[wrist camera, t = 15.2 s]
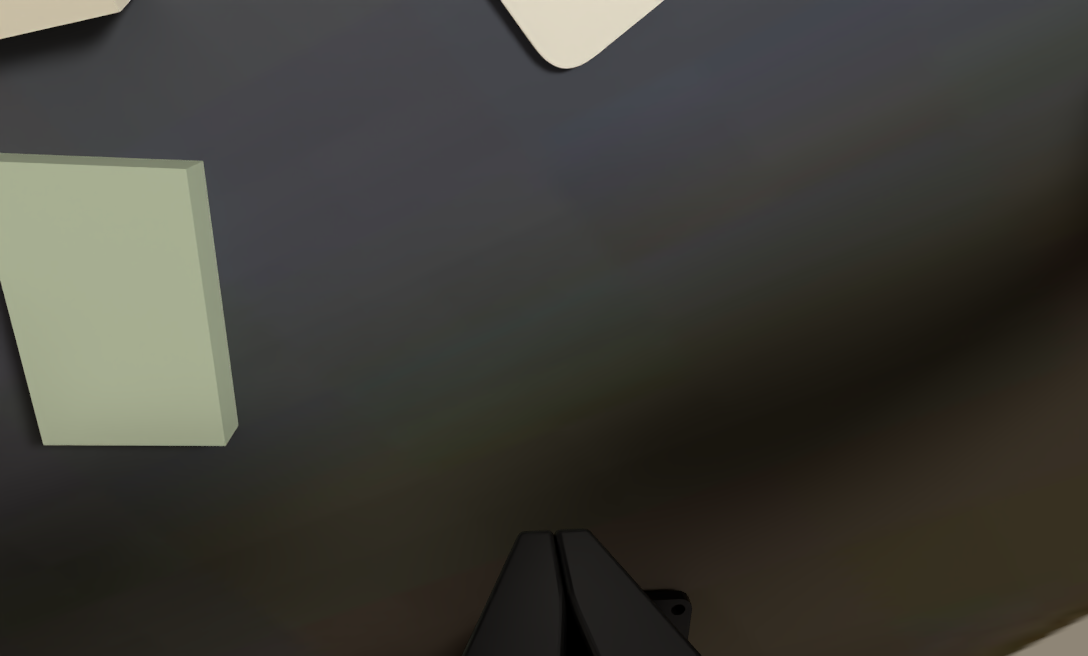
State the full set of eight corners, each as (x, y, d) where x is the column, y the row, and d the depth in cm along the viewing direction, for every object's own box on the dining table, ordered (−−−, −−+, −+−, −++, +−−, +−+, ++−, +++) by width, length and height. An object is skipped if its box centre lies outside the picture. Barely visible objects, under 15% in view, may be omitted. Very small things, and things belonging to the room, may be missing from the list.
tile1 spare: (225, 445, 20) (186, 169, 17) (43, 445, 20) (-32, 160, 17) (242, 418, 22) (209, 157, 19) (73, 416, 21) (10, 149, 18)
